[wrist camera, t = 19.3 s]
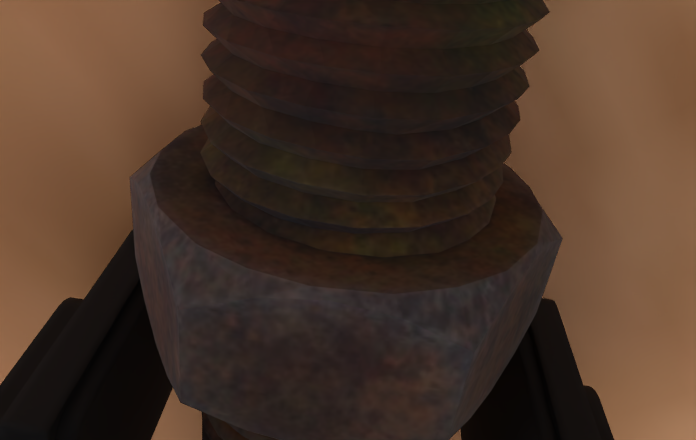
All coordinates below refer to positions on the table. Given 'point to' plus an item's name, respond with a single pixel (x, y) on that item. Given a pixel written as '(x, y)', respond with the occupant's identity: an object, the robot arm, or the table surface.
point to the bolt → (346, 220)
